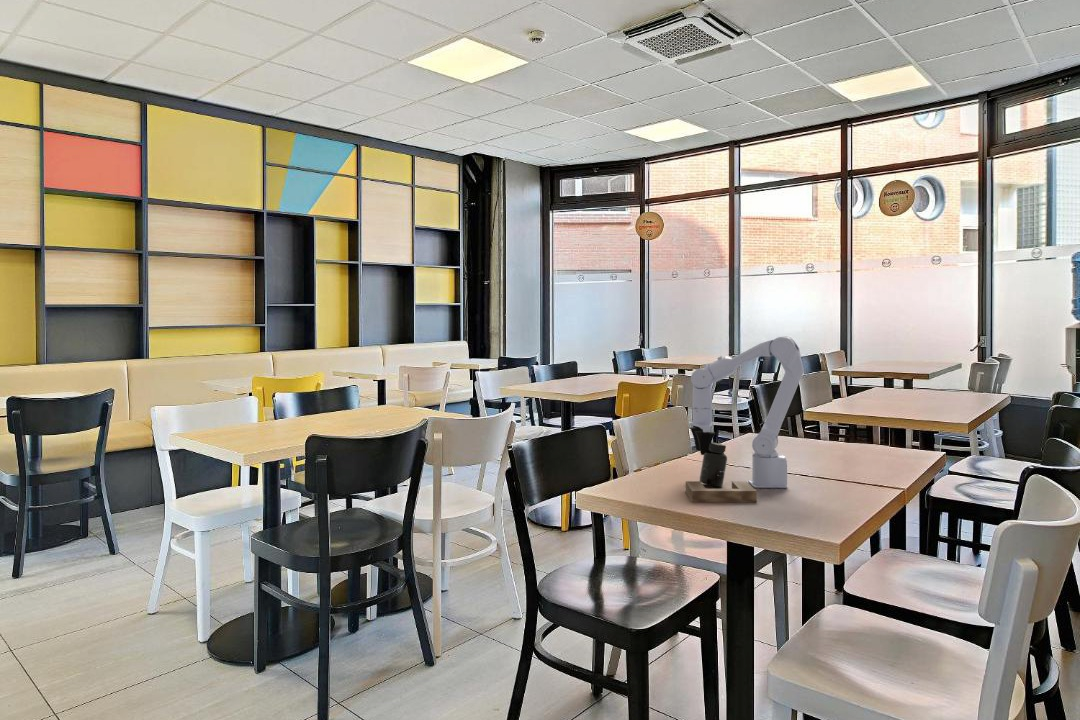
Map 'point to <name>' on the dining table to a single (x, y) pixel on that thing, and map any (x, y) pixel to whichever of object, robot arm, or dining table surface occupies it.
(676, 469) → the dining table surface
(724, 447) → the supplement bottle
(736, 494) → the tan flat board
